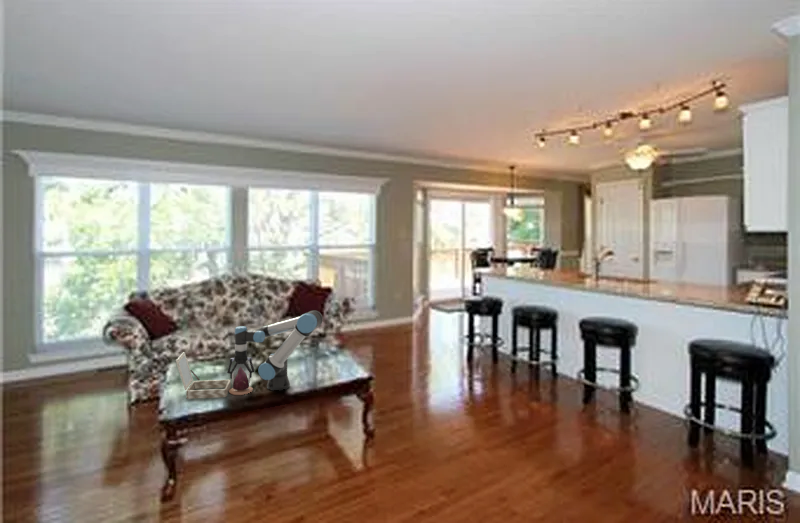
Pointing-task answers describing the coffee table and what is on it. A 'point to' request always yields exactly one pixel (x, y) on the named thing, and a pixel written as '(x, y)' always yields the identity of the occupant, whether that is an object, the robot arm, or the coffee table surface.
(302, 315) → the robot arm
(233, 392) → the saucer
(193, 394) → the cold frame
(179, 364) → the lid
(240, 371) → the dark red pyramid
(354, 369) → the coffee table surface
